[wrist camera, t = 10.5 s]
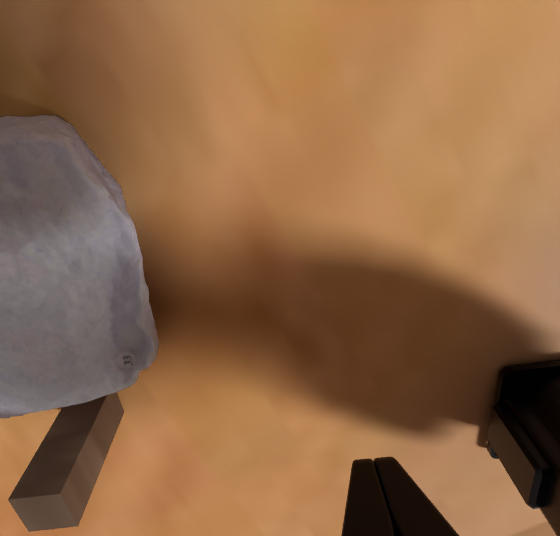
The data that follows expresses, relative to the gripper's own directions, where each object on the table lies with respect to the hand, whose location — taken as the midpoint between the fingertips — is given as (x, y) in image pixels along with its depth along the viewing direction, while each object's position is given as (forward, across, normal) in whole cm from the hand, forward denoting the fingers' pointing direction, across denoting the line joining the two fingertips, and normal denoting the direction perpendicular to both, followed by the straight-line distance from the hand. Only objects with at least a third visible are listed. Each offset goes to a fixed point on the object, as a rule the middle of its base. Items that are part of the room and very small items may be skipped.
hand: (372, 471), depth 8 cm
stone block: (+11, +12, -1) cm, 16 cm away
